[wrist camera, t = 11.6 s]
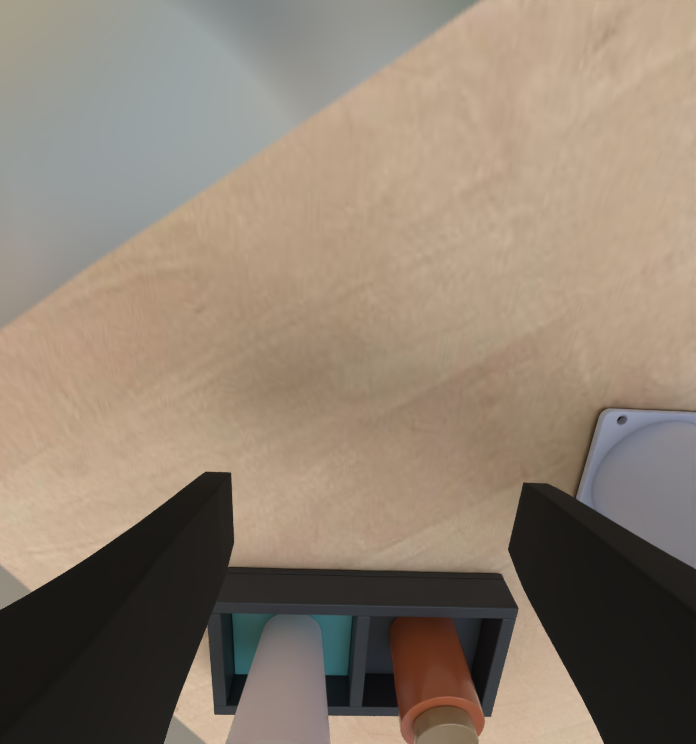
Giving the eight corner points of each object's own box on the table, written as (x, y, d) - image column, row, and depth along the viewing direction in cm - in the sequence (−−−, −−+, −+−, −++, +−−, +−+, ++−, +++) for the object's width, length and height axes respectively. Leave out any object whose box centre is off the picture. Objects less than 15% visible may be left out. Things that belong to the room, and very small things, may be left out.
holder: (218, 566, 23) (205, 602, 20) (501, 573, 23) (519, 608, 21) (225, 673, 25) (213, 715, 23) (477, 676, 26) (491, 717, 24)
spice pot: (460, 607, 24) (498, 716, 18) (451, 657, 25) (483, 773, 19) (391, 606, 23) (407, 715, 18) (385, 656, 25) (398, 773, 19)
